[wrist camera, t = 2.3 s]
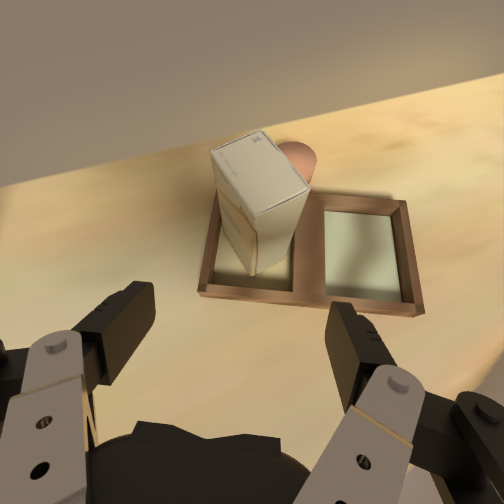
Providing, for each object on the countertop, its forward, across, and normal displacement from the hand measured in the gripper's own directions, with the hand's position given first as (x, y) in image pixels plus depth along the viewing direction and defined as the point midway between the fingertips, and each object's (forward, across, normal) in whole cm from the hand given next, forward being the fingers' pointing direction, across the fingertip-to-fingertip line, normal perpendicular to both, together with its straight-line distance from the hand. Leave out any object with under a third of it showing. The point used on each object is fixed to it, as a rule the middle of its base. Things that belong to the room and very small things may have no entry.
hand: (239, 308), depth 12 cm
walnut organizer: (+16, -5, +3) cm, 18 cm away
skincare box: (+16, 0, +3) cm, 17 cm away
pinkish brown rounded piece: (+24, -3, -4) cm, 24 cm away
